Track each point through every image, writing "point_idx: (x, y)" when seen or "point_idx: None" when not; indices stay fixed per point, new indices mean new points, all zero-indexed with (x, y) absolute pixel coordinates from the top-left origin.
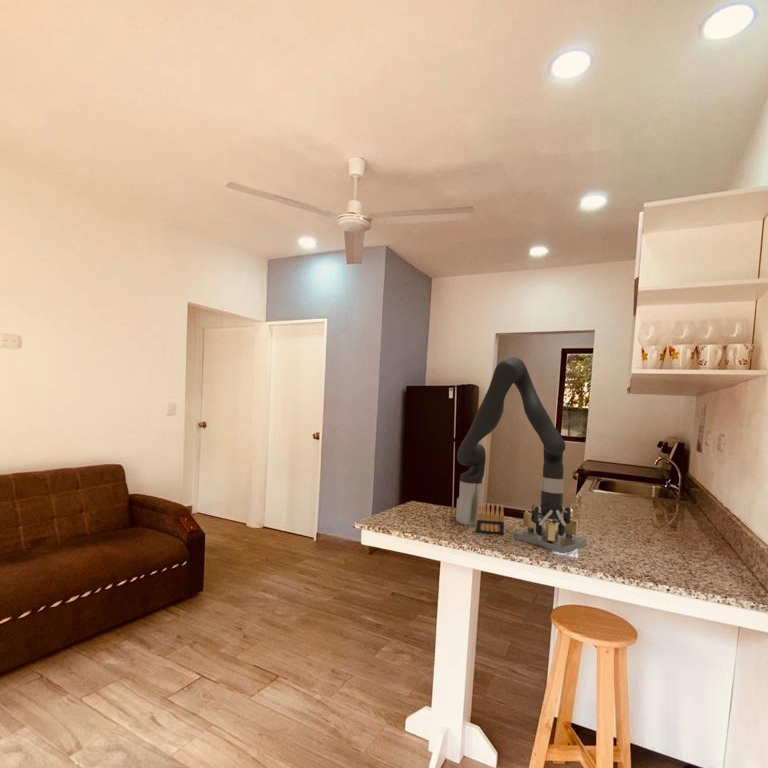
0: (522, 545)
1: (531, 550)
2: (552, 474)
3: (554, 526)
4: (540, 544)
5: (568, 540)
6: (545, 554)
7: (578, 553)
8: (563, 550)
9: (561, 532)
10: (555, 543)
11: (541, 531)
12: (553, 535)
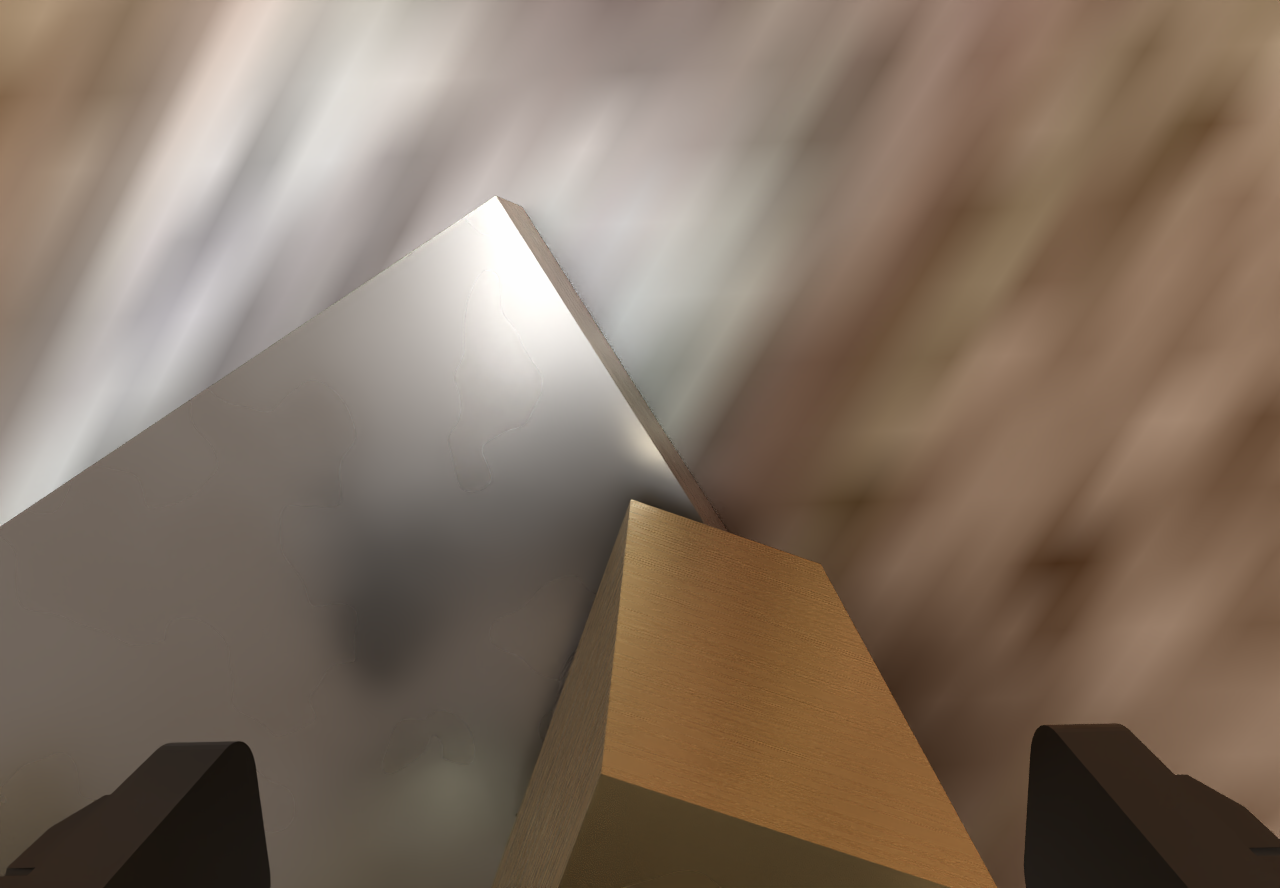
0: (1267, 740)
1: (1267, 401)
2: None
3: (653, 772)
4: None
5: (5, 821)
6: (1072, 112)
7: (96, 228)
8: (508, 202)
9: (179, 813)
10: (546, 561)
11: (1138, 803)
12: (674, 570)
